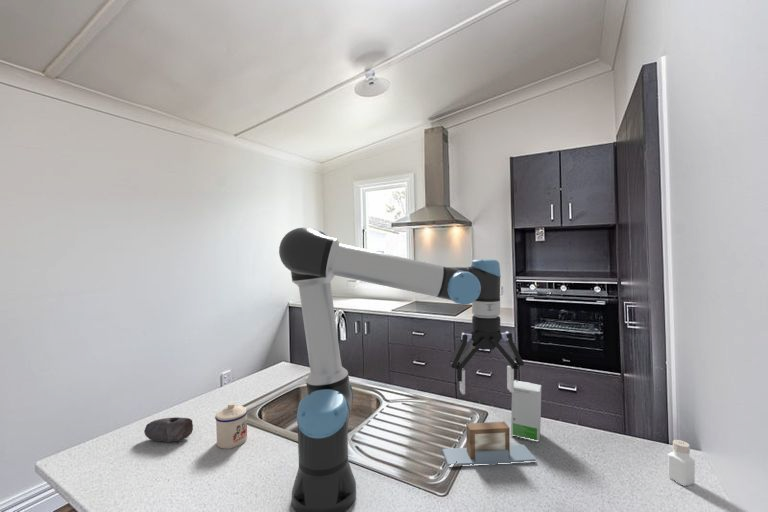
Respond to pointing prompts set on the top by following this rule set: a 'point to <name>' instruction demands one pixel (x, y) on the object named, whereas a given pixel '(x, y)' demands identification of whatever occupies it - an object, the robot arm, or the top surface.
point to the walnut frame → (487, 437)
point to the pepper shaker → (681, 463)
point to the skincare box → (526, 410)
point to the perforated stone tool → (169, 429)
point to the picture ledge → (488, 456)
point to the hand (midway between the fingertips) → (486, 391)
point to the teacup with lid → (231, 426)
